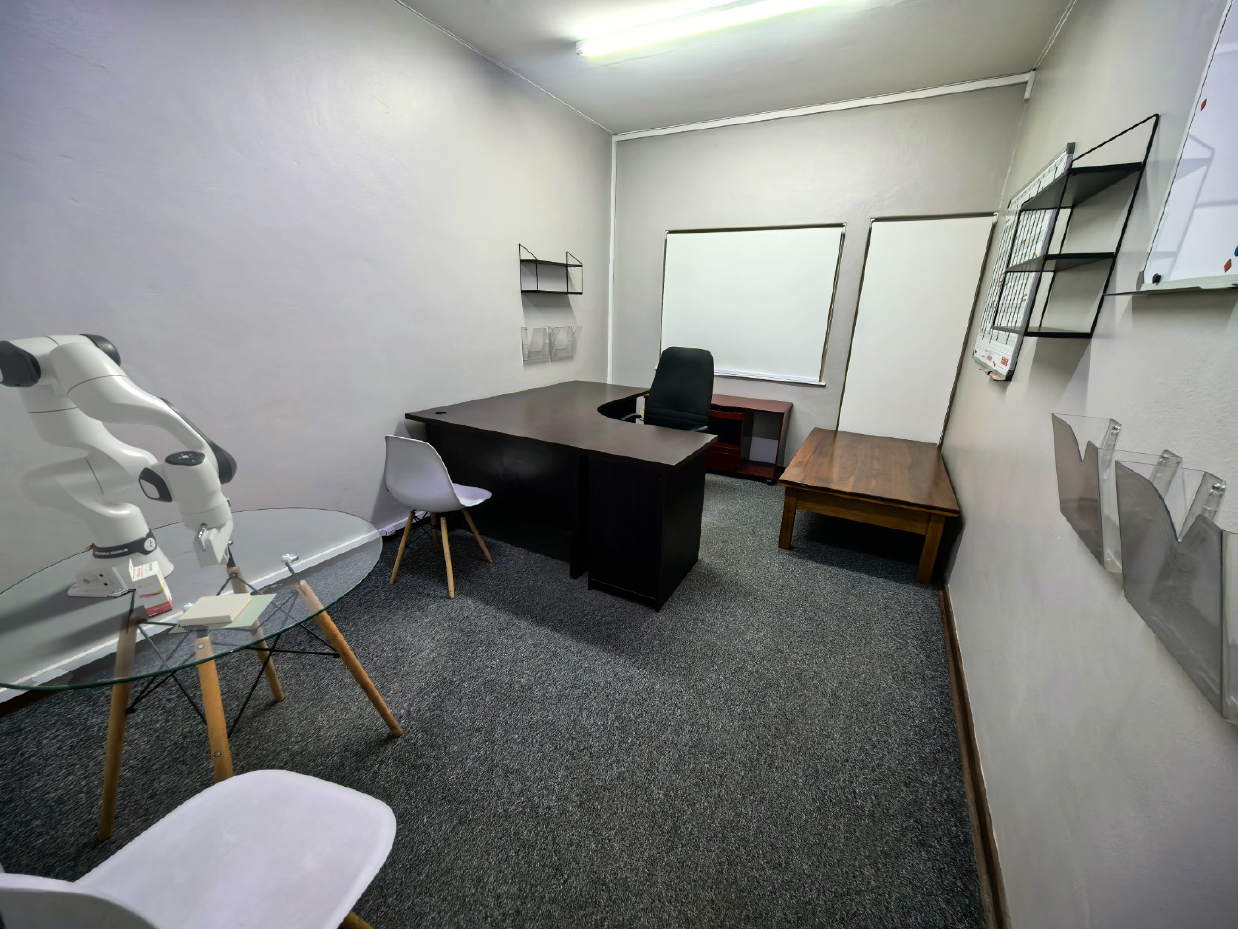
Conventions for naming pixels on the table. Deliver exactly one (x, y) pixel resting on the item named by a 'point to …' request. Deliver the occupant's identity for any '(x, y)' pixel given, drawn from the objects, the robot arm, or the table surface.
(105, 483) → the robot arm
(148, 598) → the ink cartridge box
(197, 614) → the cream layered slab
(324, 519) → the table surface
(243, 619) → the felt pad
